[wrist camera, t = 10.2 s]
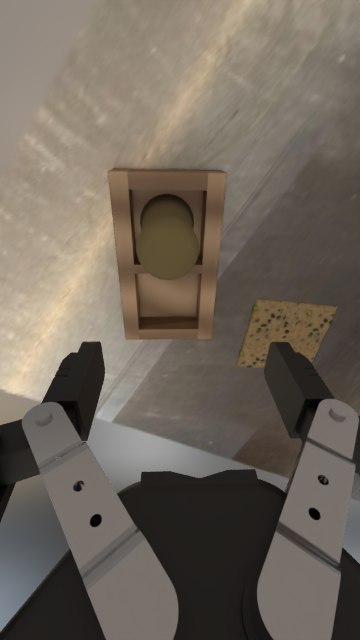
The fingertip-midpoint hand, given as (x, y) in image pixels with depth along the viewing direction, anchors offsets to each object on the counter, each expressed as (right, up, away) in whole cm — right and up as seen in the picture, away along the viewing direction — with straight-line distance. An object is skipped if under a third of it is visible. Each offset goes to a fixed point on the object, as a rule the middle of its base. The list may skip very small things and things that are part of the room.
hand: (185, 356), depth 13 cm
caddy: (-2, +9, +20) cm, 22 cm away
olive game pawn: (-2, +13, +18) cm, 22 cm away
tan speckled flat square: (+15, -1, +28) cm, 32 cm away
